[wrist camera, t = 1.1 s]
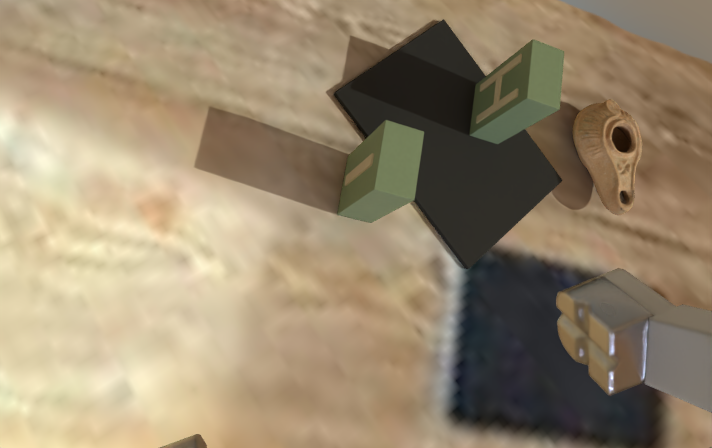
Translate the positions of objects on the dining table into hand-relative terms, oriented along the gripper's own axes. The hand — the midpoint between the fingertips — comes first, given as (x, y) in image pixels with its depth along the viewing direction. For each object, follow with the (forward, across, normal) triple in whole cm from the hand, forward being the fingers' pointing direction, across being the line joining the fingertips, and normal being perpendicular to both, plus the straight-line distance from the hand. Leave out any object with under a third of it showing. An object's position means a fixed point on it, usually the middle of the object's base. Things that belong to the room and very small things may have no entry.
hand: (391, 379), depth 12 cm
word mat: (+42, -19, +15) cm, 49 cm away
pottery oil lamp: (+41, -35, +23) cm, 59 cm away
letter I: (+39, -8, +15) cm, 42 cm away
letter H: (+43, -24, +14) cm, 51 cm away
